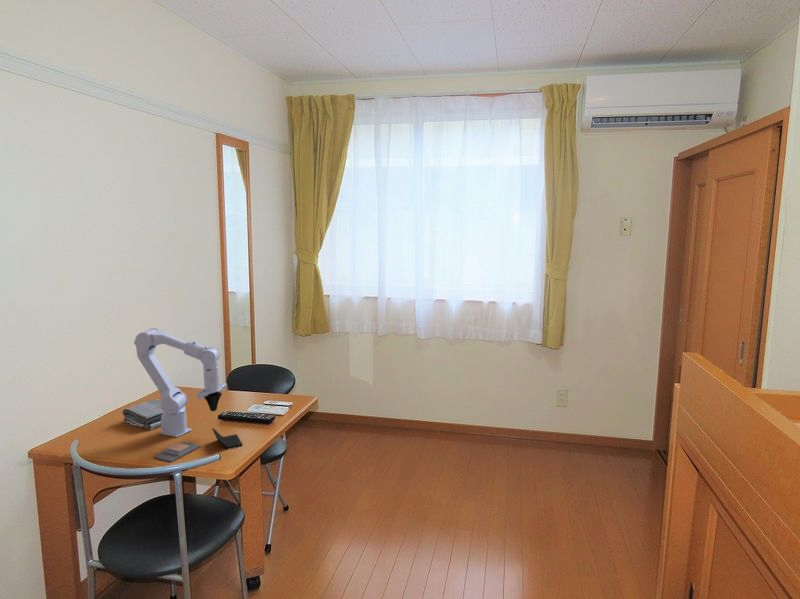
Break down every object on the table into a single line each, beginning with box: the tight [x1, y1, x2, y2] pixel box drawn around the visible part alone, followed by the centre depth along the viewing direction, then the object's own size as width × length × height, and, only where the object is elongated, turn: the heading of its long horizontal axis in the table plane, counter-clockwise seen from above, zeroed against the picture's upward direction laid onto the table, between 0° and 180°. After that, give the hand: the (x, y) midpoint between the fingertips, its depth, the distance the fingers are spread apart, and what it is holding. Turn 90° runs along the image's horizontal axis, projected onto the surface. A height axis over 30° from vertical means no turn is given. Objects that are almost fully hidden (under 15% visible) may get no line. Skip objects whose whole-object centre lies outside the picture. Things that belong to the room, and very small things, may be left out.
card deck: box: [165, 442, 190, 455], centre depth 189 cm, size 7×2×5 cm
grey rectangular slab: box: [152, 441, 202, 463], centre depth 189 cm, size 9×14×1 cm, turn 157°
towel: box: [122, 398, 164, 431], centre depth 218 cm, size 15×18×8 cm
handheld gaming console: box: [212, 427, 243, 450], centre depth 196 cm, size 12×7×10 cm
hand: (213, 410), depth 205 cm, fingers closed
